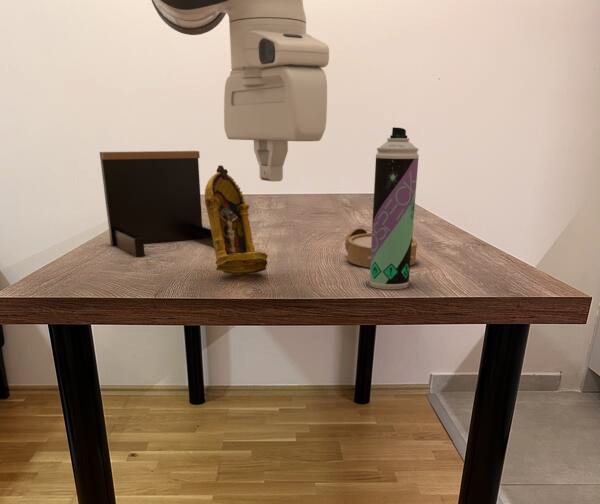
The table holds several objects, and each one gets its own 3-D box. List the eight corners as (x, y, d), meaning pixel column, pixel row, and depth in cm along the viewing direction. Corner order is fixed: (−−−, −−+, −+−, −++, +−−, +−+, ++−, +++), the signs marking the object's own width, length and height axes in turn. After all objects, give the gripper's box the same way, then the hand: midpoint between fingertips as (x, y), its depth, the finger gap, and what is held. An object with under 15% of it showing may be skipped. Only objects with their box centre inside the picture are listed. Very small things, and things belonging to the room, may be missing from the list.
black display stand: (133, 257, 108) (122, 154, 101) (110, 244, 119) (99, 151, 113) (230, 248, 116) (226, 153, 109) (200, 238, 128) (194, 150, 121)
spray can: (362, 282, 91) (369, 127, 82) (395, 279, 93) (405, 127, 84) (382, 290, 86) (392, 127, 78) (416, 287, 88) (429, 127, 80)
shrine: (196, 272, 97) (189, 165, 91) (244, 266, 101) (240, 164, 95) (229, 286, 88) (224, 169, 82) (280, 279, 92) (279, 168, 86)
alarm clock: (356, 250, 98) (338, 220, 110) (354, 281, 100) (336, 248, 112) (427, 249, 99) (401, 219, 111) (422, 279, 102) (398, 247, 114)
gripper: (208, 59, 81) (215, 177, 87) (286, 42, 65) (288, 187, 71) (253, 62, 84) (256, 175, 90) (338, 46, 68) (335, 185, 74)
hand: (271, 180), depth 80 cm, fingers closed
